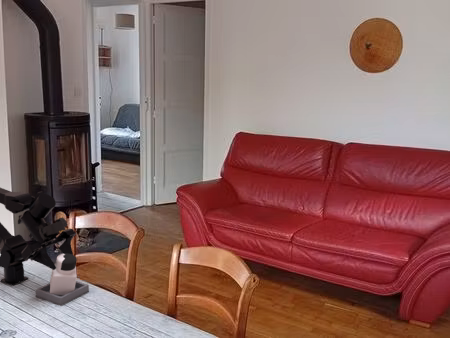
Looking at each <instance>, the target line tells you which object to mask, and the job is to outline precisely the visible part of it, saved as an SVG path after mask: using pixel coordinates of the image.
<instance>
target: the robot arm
mask: <svg viewBox="0 0 450 338" xmlns="http://www.w3.org/2000/svg"><path fill="white" fill-rule="evenodd" d="M0 204H2V205H3V206H4V207H5V209H6V210H7V211H9V212H10V213H12V214H15V215H17V214H19V213H22V214H20V215H18V219H17V225H20V224H23V225H24V226H25V228H26V229H27V231H28V232H29V236H28V237H29V238H30V239H32V238H33V240H35V241H33V242H31V243H28V241H27V240H25V239H24V237H23V236H22V235H21V234H17V235H12V234H11V232H10V231H9V230H8V229H7V228H6V227H5V226H4V224H3V223H1V221H0V268H3V274H4V278H2V279H0V282H1V283H4V284H7V285H10V286H14V285H17V284H20V283H22V282H24V281H26V280H28V279H29V277H28V276H25V269H24V262H27V261H29V260H30V261H34V262H36V263H39V264H42V265H43V266H45V267H47V268H49V269H51V270H52V269H53V270H55V269H56V266H55V265H54V264H55V263H54V261H53V260H52V258H51V256H50V255H49V254H48V252H47V248H49V247H51V246H54V245H58V250H59V251H60V252H61V254H63V253H68V254H72V255H74V252H73V248H72V240H73V239H74V237H75V236H76V235H77V233H76V231H75V230H74V229H73V228H67V229H66V227H67V226H68V222H67V220H66V218H64V217H60V218H58V219H56V221H55V222H53V223H51V222H50V221H46V220H45V218H46V217H47V216H48V215H49V214H50V213H51V211H52V210H54V208H55V206H56V204H57V202H56V199H55V198H54V197H52V196H51V195H49V194H46V193H44V191H38V192H37V193H36V194H35V196H34V195H32V194H30V193H29V192H24V191H10V190H9V189H5V188H2V187H0Z"/></svg>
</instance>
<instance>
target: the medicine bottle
mask: <svg viewBox="0 0 450 338" xmlns="http://www.w3.org/2000/svg"><path fill="white" fill-rule="evenodd" d="M54 265H55V266H56V269H55V270H53V269H51V274H50V280H49V283H50V293H51V294H54V295H66V294H68V293H70V292H72V291H74V289H75V284H76V281H77V266H76V265H77V257H76V256H75V255H74V254H73V255H72V254H68V253H60V254H59V255H57V257H56V261H55V263H54Z"/></svg>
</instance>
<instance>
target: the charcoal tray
mask: <svg viewBox="0 0 450 338" xmlns="http://www.w3.org/2000/svg"><path fill="white" fill-rule="evenodd" d="M89 287H90V285H89V284H88V283H87V284H86V283H83V282H80V281H77V280H76V284H75V289H74V291H72V292H70V293H68V294H66V295H54V294H51V293H50V282H49V283H47V284H45V285H42V286H40V287H38V288H36V289H35V292H34V293H35V297H36V298H38V299H41V300H43V301H46V302H49V303H50V304H51V303H52V304H54V305H58V306H60V307H62V306H64V305H65V304H68V303H70V302H73V300H76V299H78V298H80V297H82V296H84V295H85V294H88V293H89V292H90V288H89Z"/></svg>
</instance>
